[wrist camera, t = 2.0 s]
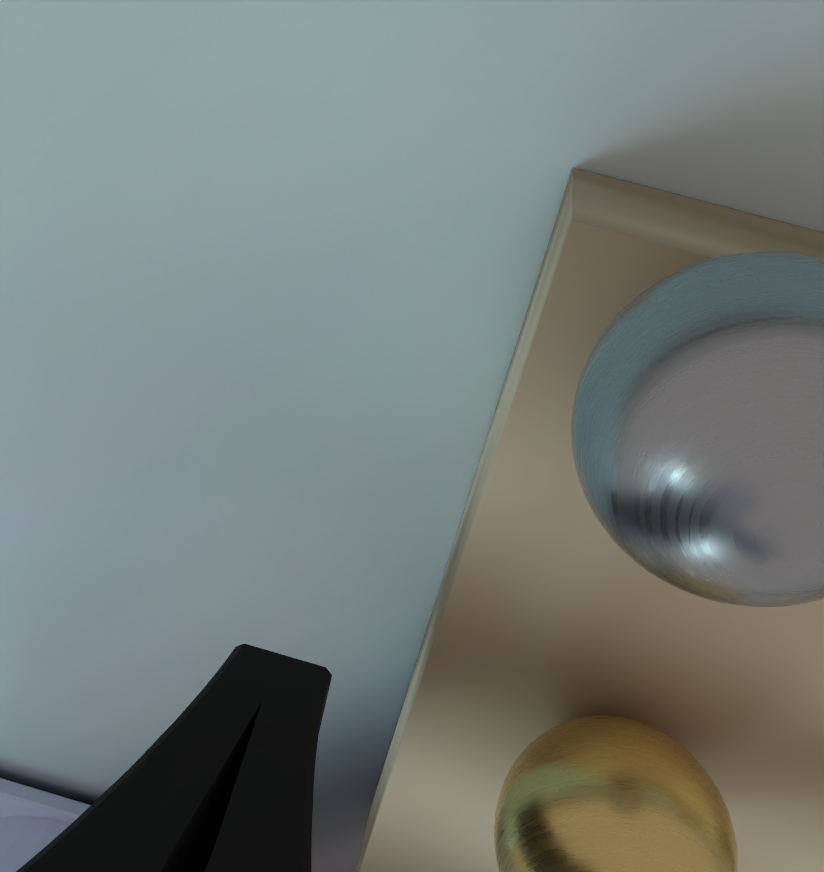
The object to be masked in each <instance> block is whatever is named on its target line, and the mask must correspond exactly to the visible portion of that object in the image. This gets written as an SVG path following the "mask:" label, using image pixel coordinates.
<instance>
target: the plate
mask: <svg viewBox="0 0 824 872" xmlns="http://www.w3.org/2000/svg"><path fill="white" fill-rule="evenodd" d="M767 251H772V252H787V253H797V254H802V255H807V256H812V257H817V258H821V259H823V260H824V233H822V232H818V231H814V230H810V229H806V228H802V227H799V226H795V225H791V224H787V223H783V222H780V221H776V220H772V219H768V218H764V217H760V216H757V215H753V214H749V213H745V212H741V211H737V210H734V209H730V208H726V207H722V206H718V205H715V204H711V203H707V202H703V201H699V200H695V199H692V198H688V197H684V196H680V195H676V194H672V193H669V192H665V191H661V190H657V189H653V188H650V187H646V186H642V185H638V184H634V183H630V182H627V181H623V180H619V179H615V178H611V177H607V176H604V175H600V174H596V173H592V172H588V171H585V170H581V169H577V168H572V171H571V174H570V178H569V181H568V184H567V187H566V190H565V193H564V197H563V200H562V203H561V206H560V209H559V212H558V216H557V219H556V222H555V225H554V228H553V232H552V235H551V238H550V241H549V244H548V247H547V251H546V254H545V257H544V260H543V263H542V266H541V270H540V273H539V276H538V279H537V282H536V285H535V289H534V292H533V295H532V298H531V301H530V304H529V308H528V311H527V314H526V317H525V320H524V323H523V327H522V330H521V333H520V336H519V339H518V342H517V346H516V349H515V352H514V355H513V358H512V361H511V365H510V368H509V371H508V374H507V377H506V380H505V384H504V387H503V390H502V393H501V396H500V399H499V403H498V406H497V409H496V412H495V415H494V418H493V422H492V425H491V428H490V431H489V434H488V438H487V441H486V444H485V447H484V450H483V453H482V457H481V460H480V463H479V466H478V469H477V472H476V476H475V479H474V482H473V485H472V488H471V491H470V495H469V498H468V501H467V504H466V507H465V510H464V514H463V517H462V520H461V523H460V526H459V529H458V533H457V536H456V539H455V542H454V545H453V548H452V552H451V555H450V558H449V561H448V564H447V567H446V571H445V574H444V577H443V580H442V583H441V586H440V590H439V593H438V596H437V599H436V602H435V605H434V609H433V612H432V615H431V618H430V621H429V624H428V628H427V631H426V634H425V637H424V640H423V644H422V647H421V650H420V653H419V656H418V659H417V663H416V666H415V669H414V672H413V675H412V678H411V682H410V685H409V688H408V691H407V694H406V697H405V701H404V704H403V707H402V710H401V713H400V716H399V720H398V723H397V726H396V729H395V732H394V735H393V739H392V742H391V745H390V748H389V751H388V754H387V758H386V761H385V764H384V767H383V770H382V773H381V777H380V780H379V783H378V786H377V789H376V792H375V796H374V799H373V802H372V805H371V808H370V812H369V817H368V821H367V825H366V829H365V833H364V837H363V841H362V845H361V850H360V854H359V858H358V862H357V866H356V870H355V872H499V869H498V865H497V861H496V852H495V843H494V821H495V813H496V807H497V801H498V798H499V795H500V792H501V789H502V786H503V783H504V780H505V778H506V776H507V774H508V772H509V770H510V769H511V767H512V765H513V764H514V762H515V761H516V759H517V758H518V757H519V755H520V754H521V753H522V752H523V750H524V749H525V748H526V747H527V746H528V745H529V744H530V743H531V742H532V741H534V740H535V739H536V738H537V737H538V736H540V735H541V734H542V733H544V732H545V731H547V730H549V729H550V728H552V727H554V726H556V725H558V724H560V723H563V722H565V721H568V720H571V719H575V718H580V717H585V716H593V715H611V716H619V717H624V718H628V719H633V720H636V721H639V722H642V723H645V724H648V725H650V726H652V727H654V728H656V729H658V730H660V731H661V732H663V733H665V734H666V735H668V736H670V737H672V738H673V739H674V740H676V741H677V742H678V743H680V744H681V745H682V746H683V747H684V748H685V749H686V750H688V751H689V752H690V753H691V754H692V755H693V756H694V757H695V758H696V759H697V760H698V761H699V763H700V764H701V765H702V766H703V768H704V769H705V770H706V771H707V773H708V774H709V775H710V777H711V778H712V780H713V781H714V783H715V785H716V786H717V788H718V790H719V792H720V794H721V795H722V797H723V799H724V802H725V804H726V807H727V809H728V811H729V814H730V818H731V821H732V824H733V828H734V832H735V836H736V844H737V854H738V872H824V599H822V600H817V601H813V602H809V603H805V604H798V605H791V606H780V607H750V606H742V605H734V604H726V603H721V602H717V601H713V600H708V599H705V598H702V597H699V596H696V595H693V594H690V593H688V592H686V591H683V590H681V589H679V588H677V587H675V586H673V585H671V584H669V583H667V582H665V581H663V580H661V579H659V578H658V577H656V576H655V575H653V574H651V573H650V572H648V571H647V570H645V569H644V568H643V567H642V566H640V565H639V564H638V563H637V562H635V561H634V560H633V559H632V558H631V557H629V556H628V555H627V554H626V553H625V552H624V551H623V550H622V549H621V548H620V547H619V546H618V545H617V544H616V543H615V542H614V541H613V540H612V539H611V537H610V536H609V534H608V533H607V532H606V530H605V529H604V527H603V526H602V525H601V523H600V522H599V520H598V519H597V518H596V516H595V515H594V513H593V511H592V509H591V507H590V505H589V503H588V501H587V499H586V497H585V495H584V492H583V489H582V487H581V484H580V481H579V478H578V475H577V472H576V468H575V462H574V456H573V450H572V442H571V419H572V412H573V404H574V397H575V392H576V388H577V385H578V381H579V378H580V375H581V372H582V370H583V368H584V366H585V363H586V361H587V359H588V357H589V355H590V353H591V351H592V349H593V347H594V345H595V344H596V342H597V341H598V339H599V337H600V336H601V334H602V333H603V331H604V330H605V329H606V327H607V326H608V325H609V324H610V323H611V321H612V320H613V319H614V318H615V317H616V315H617V314H618V313H619V312H620V311H621V310H623V309H624V308H625V307H626V306H627V305H628V304H629V303H630V302H631V301H632V300H633V299H634V298H636V297H637V296H638V295H640V294H641V293H642V292H644V291H645V290H646V289H648V288H649V287H650V286H652V285H653V284H655V283H656V282H658V281H660V280H662V279H663V278H665V277H667V276H669V275H670V274H672V273H674V272H676V271H679V270H681V269H683V268H686V267H688V266H691V265H693V264H695V263H699V262H702V261H706V260H709V259H712V258H716V257H720V256H726V255H732V254H738V253H748V252H767Z"/></svg>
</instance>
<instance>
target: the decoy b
mask: <svg viewBox="0 0 824 872" xmlns="http://www.w3.org/2000/svg"><path fill="white" fill-rule="evenodd" d="M571 442H572V450H573V456H574V462H575V468H576V472H577V475H578V478H579V481H580V484H581V487H582V489H583V492H584V495H585V497H586V499H587V501H588V503H589V505H590V507H591V509H592V511H593V513H594V515H595V516H596V518H597V519H598V520H599V522H600V523H601V525H602V526H603V527H604V529H605V530H606V532H607V533H608V534H609V536H610V537H611V539H612V540H613V541H614V542H615V543H616V544H617V545H618V546H619V547H620V548H621V549H622V550H623V551H624V552H625V553H626V554H627V555H628V556H629V557H631V558H632V559H633V560H634V561H635V562H637V563H638V564H639V565H640V566H642V567H643V568H644V569H645V570H647V571H648V572H650V573H651V574H653V575H655V576H656V577H658V578H659V579H661V580H663V581H665V582H667V583H669V584H671V585H673V586H675V587H677V588H679V589H681V590H683V591H686V592H688V593H690V594H693V595H696V596H699V597H702V598H705V599H708V600H713V601H717V602H721V603H726V604H734V605H742V606H750V607H780V606H791V605H798V604H805V603H809V602H813V601H817V600H822V599H824V260H823V259H821V258H817V257H812V256H807V255H802V254H797V253H787V252H772V251H767V252H748V253H738V254H732V255H726V256H720V257H716V258H712V259H709V260H706V261H702V262H699V263H695V264H693V265H691V266H688V267H686V268H683V269H681V270H679V271H676V272H674V273H672V274H670V275H669V276H667V277H665V278H663V279H662V280H660V281H658V282H656V283H655V284H653V285H652V286H650V287H649V288H648V289H646V290H645V291H644V292H642V293H641V294H640V295H638V296H637V297H636V298H634V299H633V300H632V301H631V302H630V303H629V304H628V305H627V306H626V307H625V308H624V309H623V310H621V311H620V312H619V313H618V314H617V315H616V317H615V318H614V319H613V320H612V321H611V323H610V324H609V325H608V326H607V327H606V329H605V330H604V331H603V333H602V334H601V336H600V337H599V339H598V341H597V342H596V344H595V345H594V347H593V349H592V351H591V353H590V355H589V357H588V359H587V361H586V363H585V366H584V368H583V370H582V372H581V375H580V378H579V381H578V385H577V388H576V392H575V397H574V404H573V412H572V419H571Z"/></svg>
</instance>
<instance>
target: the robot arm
mask: <svg viewBox="0 0 824 872" xmlns="http://www.w3.org/2000/svg"><path fill="white" fill-rule="evenodd" d="M331 677H332V675H331V673H330V672H329V671H328V670H327V668H326V667H322V666H319V665H316V664H312V663H309V662H305V661H302V660H298V659H295V658H292V657H288V656H285V655H281V654H278V653H274V652H271V651H268V650H264V649H261V648H257V647H254V646H250V645H247V644H242V645H240V646H237V647H235V649H234V650H233V652H232V653H231V654H230V656H229V657H228V659H227V660H226V661H225V663H224V664H223V665H222V666H221V668H220V669H219V670H218V671H217V673H216V674H215V675H214V677H213V678H212V679H211V680H210V681H209V683H208V684H207V685H206V686H205V687H204V689H203V690H202V691H201V692H200V693H199V695H198V696H197V697H196V698H195V699H194V700H193V701H192V703H191V704H190V705H189V706H188V707H187V708H186V709H185V710H184V712H183V713H182V714H181V715H180V716H179V717H178V718H177V719H176V721H175V722H174V723H173V724H172V725H171V726H170V727H169V728H168V729H167V730H166V731H165V732H164V733H163V734H162V735H161V736H160V737H159V738H158V739H157V741H156V742H155V743H154V744H153V745H152V746H151V747H150V748H149V749H148V750H147V751H146V752H145V753H144V754H143V755H142V756H141V757H140V758H139V759H138V760H137V761H136V763H135V764H134V765H133V766H132V767H131V768H130V769H129V770H128V771H126V772H125V773H124V774H123V775H122V776H121V777H120V778H119V779H118V780H117V781H116V782H115V783H114V784H113V785H112V786H111V787H110V788H109V789H108V790H107V791H106V792H104V793H103V794H102V795H101V796H100V797H99V798H98V799H97V800H96V801H95V802H94V803H93V804H92V805H89V804H85V803H82V802H79V801H76V800H72V799H69V798H66V797H62V796H59V795H56V794H52V793H49V792H46V791H42V790H39V789H36V788H33V787H29V786H26V785H23V784H19V783H16V782H13V781H9V780H6V779H3V778H0V872H311V834H312V808H313V784H314V770H315V759H316V750H317V742H318V734H319V730H320V725H321V721H322V716H323V712H324V708H325V703H326V699H327V695H328V690H329V686H330V682H331Z"/></svg>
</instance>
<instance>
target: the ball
mask: <svg viewBox="0 0 824 872" xmlns="http://www.w3.org/2000/svg"><path fill="white" fill-rule="evenodd" d="M494 843H495V852H496V861H497V865H498V869H499V872H738V854H737V844H736V836H735V832H734V828H733V824H732V821H731V818H730V814H729V811H728V809H727V807H726V804H725V802H724V799H723V797H722V795H721V794H720V792H719V790H718V788H717V786H716V785H715V783H714V781H713V780H712V778H711V777H710V775H709V774H708V773H707V771H706V770H705V769H704V768H703V766H702V765H701V764H700V763H699V761H698V760H697V759H696V758H695V757H694V756H693V755H692V754H691V753H690V752H689V751H688V750H686V749H685V748H684V747H683V746H682V745H681V744H680V743H678V742H677V741H676V740H674V739H673V738H672V737H670V736H668V735H666V734H665V733H663V732H661V731H660V730H658V729H656V728H654V727H652V726H650V725H648V724H645V723H642V722H639V721H636V720H633V719H628V718H624V717H619V716H611V715H593V716H585V717H580V718H575V719H571V720H568V721H565V722H563V723H560V724H558V725H556V726H554V727H552V728H550V729H549V730H547V731H545V732H544V733H542V734H541V735H540V736H538V737H537V738H536V739H535V740H534V741H532V742H531V743H530V744H529V745H528V746H527V747H526V748H525V749H524V750H523V752H522V753H521V754H520V755H519V757H518V758H517V759H516V761H515V762H514V764H513V765H512V767H511V769H510V770H509V772H508V774H507V776H506V778H505V780H504V783H503V786H502V789H501V792H500V795H499V798H498V801H497V807H496V813H495V821H494Z"/></svg>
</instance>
